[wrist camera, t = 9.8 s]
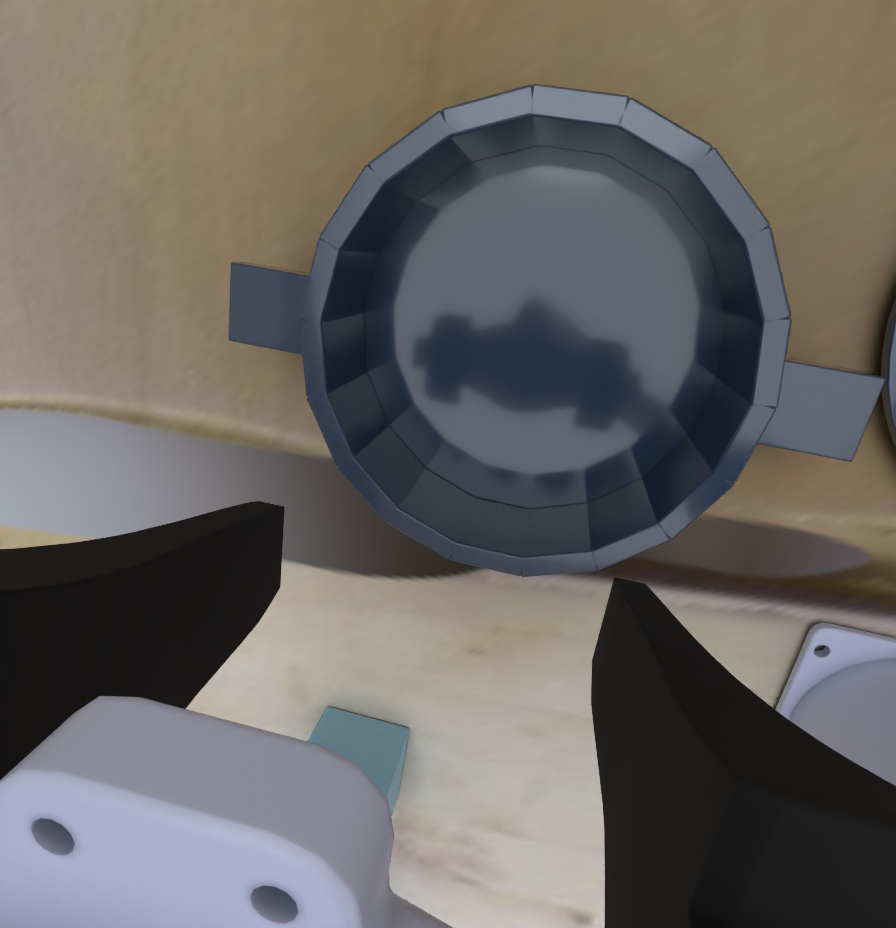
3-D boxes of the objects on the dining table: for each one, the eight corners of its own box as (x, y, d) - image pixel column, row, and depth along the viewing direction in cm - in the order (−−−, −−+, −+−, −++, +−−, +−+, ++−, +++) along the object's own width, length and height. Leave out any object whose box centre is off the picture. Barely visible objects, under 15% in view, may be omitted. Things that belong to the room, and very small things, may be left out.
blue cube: (398, 793, 29) (373, 871, 25) (319, 770, 29) (283, 844, 26) (410, 727, 27) (384, 800, 24) (326, 705, 28) (289, 773, 24)
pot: (750, 569, 22) (792, 640, 18) (273, 464, 24) (212, 505, 20) (898, 172, 18) (1001, 142, 13) (295, 89, 20) (223, 42, 16)
